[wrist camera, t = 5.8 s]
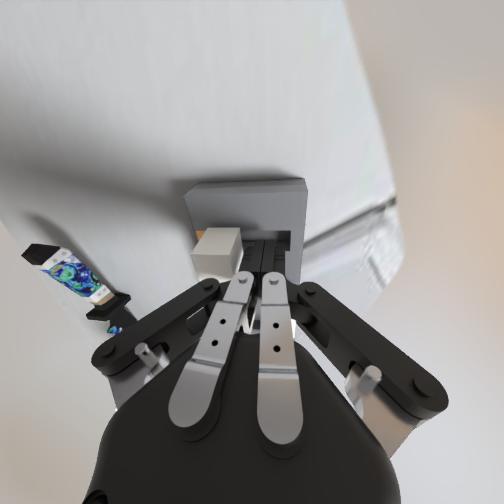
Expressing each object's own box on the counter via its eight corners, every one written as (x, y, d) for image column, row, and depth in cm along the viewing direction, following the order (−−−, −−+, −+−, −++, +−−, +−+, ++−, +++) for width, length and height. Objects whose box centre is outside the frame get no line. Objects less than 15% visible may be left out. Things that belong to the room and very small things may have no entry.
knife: (54, 225, 20) (9, 254, 17) (79, 227, 20) (38, 257, 17) (155, 343, 41) (143, 366, 38) (168, 345, 41) (158, 368, 37)
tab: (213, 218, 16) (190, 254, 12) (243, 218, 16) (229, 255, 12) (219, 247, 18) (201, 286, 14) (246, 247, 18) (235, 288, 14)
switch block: (197, 183, 17) (183, 195, 14) (304, 178, 15) (307, 191, 13) (231, 320, 28) (226, 339, 26) (293, 324, 27) (294, 346, 25)
